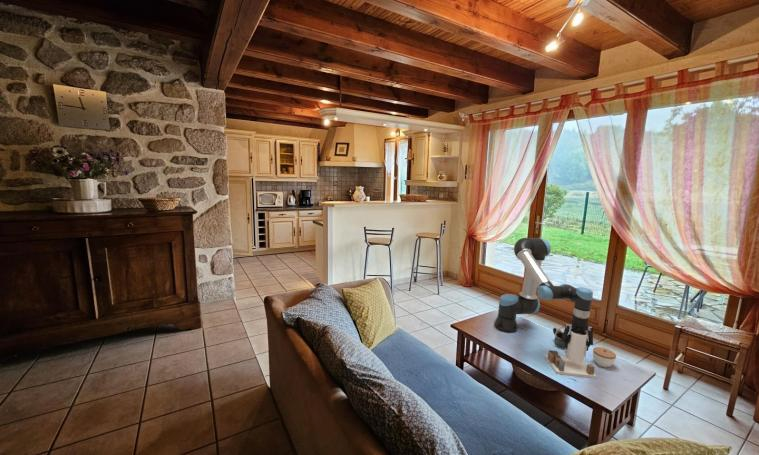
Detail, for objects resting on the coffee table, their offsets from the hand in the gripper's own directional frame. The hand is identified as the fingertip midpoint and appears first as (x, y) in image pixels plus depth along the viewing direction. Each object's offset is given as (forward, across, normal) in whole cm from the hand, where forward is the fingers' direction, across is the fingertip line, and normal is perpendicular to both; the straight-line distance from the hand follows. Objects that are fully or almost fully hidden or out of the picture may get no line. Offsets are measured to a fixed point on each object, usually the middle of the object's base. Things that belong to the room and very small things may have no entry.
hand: (574, 354), depth 178 cm
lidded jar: (+8, +19, +7) cm, 22 cm away
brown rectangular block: (+6, -9, 0) cm, 11 cm away
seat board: (+8, -2, 0) cm, 8 cm away
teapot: (+8, +3, +25) cm, 27 cm away
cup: (+2, 0, 0) cm, 2 cm away
